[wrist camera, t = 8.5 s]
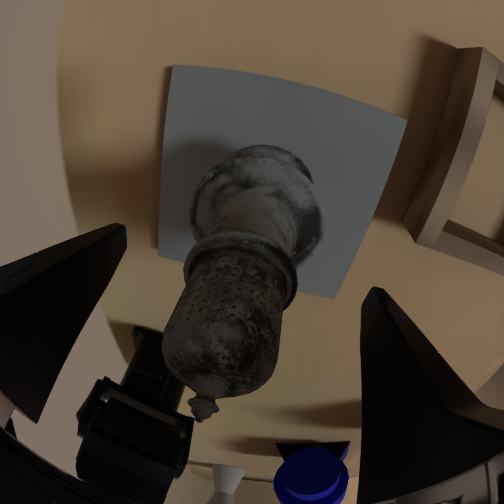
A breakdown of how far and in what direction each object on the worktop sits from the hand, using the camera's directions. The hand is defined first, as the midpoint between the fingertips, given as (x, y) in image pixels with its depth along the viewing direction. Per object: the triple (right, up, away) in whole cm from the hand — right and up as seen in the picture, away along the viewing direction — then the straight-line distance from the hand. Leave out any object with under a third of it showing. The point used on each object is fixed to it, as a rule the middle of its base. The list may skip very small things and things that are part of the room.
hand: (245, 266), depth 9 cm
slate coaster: (+1, +4, +6) cm, 7 cm away
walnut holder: (+16, +6, +2) cm, 17 cm away
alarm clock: (+11, -33, +29) cm, 45 cm away
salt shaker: (+1, +4, +6) cm, 7 cm away
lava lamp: (-6, -54, +46) cm, 72 cm away
